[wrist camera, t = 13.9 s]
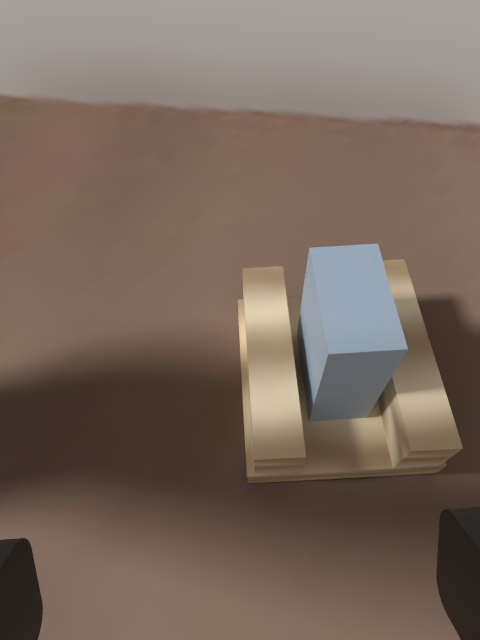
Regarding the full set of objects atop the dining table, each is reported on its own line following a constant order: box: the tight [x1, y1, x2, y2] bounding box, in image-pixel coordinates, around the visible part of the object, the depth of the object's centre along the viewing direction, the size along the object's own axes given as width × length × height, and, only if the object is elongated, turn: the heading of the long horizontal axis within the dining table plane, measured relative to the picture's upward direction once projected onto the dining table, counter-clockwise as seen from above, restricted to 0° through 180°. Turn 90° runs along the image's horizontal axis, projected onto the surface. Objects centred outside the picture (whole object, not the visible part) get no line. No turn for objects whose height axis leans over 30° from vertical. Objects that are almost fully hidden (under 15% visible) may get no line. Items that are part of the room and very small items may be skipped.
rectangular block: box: [297, 244, 408, 421], centre depth 29 cm, size 7×4×10 cm, turn 3°
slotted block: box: [238, 259, 463, 483], centre depth 32 cm, size 14×13×6 cm
